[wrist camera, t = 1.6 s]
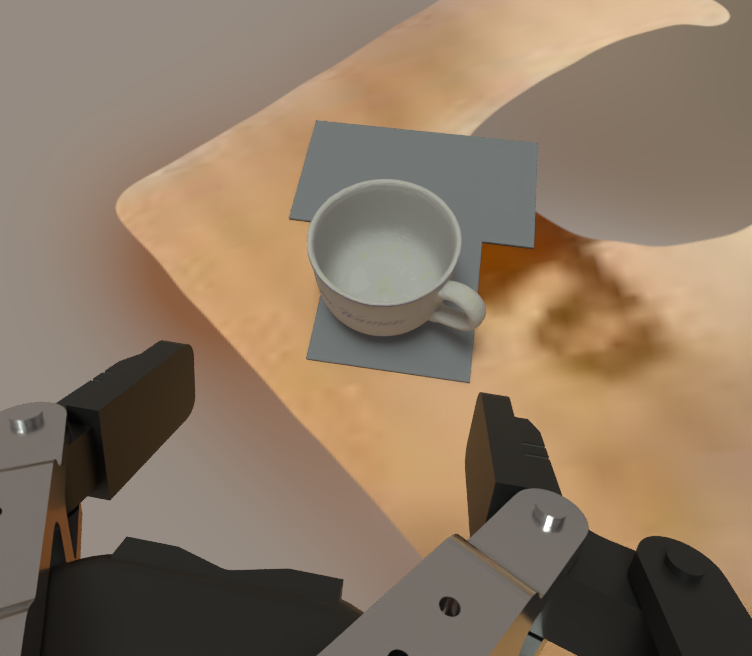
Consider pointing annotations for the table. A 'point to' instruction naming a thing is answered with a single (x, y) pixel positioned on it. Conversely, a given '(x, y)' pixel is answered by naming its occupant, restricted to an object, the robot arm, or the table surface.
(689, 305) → the table surface
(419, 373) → the t mat
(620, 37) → the table surface
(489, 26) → the table surface
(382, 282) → the teacup
